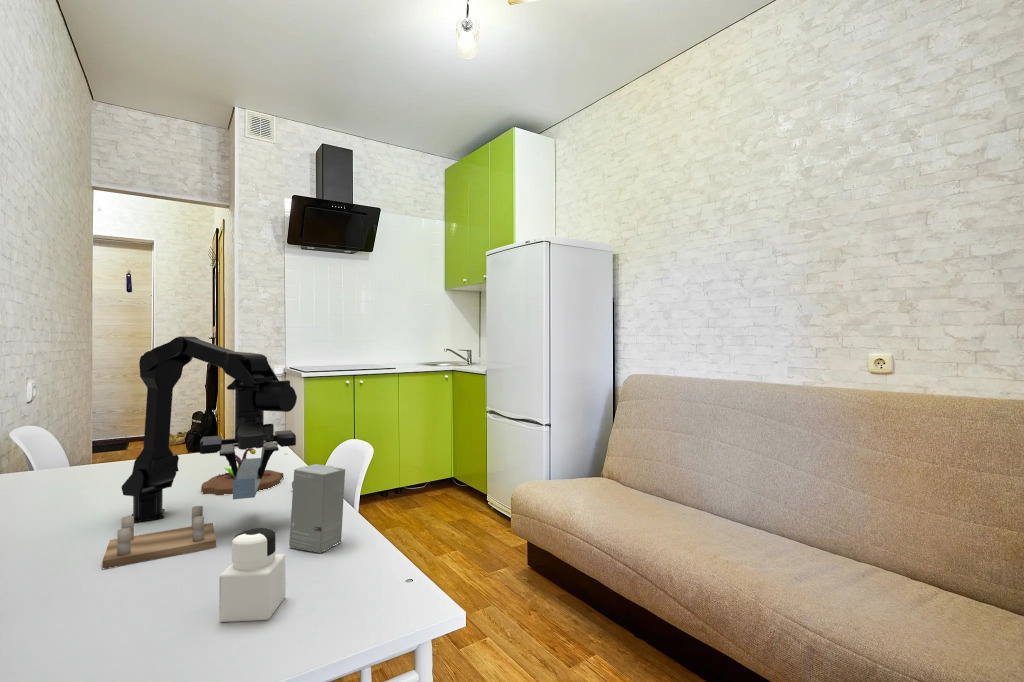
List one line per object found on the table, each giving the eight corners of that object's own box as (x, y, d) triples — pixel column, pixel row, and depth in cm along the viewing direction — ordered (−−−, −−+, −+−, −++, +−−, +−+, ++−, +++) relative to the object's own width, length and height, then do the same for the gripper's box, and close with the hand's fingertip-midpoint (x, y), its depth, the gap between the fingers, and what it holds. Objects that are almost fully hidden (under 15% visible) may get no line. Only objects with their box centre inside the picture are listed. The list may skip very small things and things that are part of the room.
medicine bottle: (240, 599, 82) (240, 524, 82) (286, 597, 82) (286, 523, 82) (218, 623, 75) (218, 541, 75) (268, 620, 75) (268, 539, 75)
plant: (260, 496, 138) (260, 455, 138) (189, 496, 138) (189, 455, 138) (292, 477, 158) (292, 441, 158) (230, 477, 158) (230, 441, 158)
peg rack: (109, 547, 103) (110, 517, 103) (212, 529, 112) (212, 502, 112) (102, 569, 93) (102, 536, 93) (216, 547, 102) (216, 517, 102)
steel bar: (244, 475, 121) (244, 459, 121) (262, 474, 123) (262, 457, 123) (232, 499, 103) (232, 479, 103) (254, 497, 104) (254, 477, 104)
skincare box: (288, 548, 102) (288, 469, 102) (314, 536, 109) (314, 462, 109) (321, 554, 99) (321, 473, 99) (346, 541, 105) (346, 465, 106)
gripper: (199, 417, 101) (198, 495, 101) (299, 411, 111) (299, 483, 111) (200, 411, 111) (200, 482, 111) (292, 406, 120) (292, 471, 120)
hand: (249, 480), depth 113 cm, fingers closed on steel bar, 4 cm apart
